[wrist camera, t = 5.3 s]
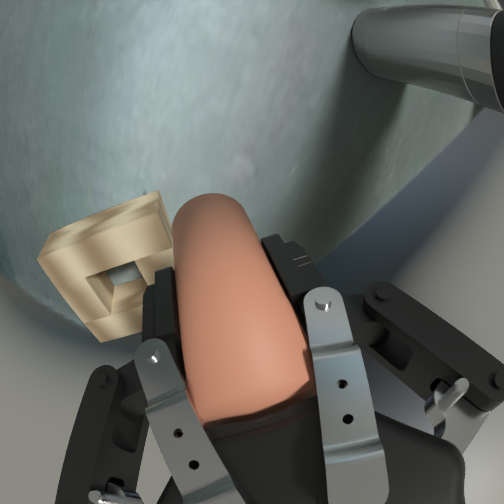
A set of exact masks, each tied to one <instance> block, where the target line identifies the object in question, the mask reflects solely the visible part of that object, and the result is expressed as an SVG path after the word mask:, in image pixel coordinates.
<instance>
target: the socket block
mask: <svg viewBox="0 0 504 504" xmlns="http://www.w3.org/2000/svg"><path fill="white" fill-rule="evenodd" d="M37 260H38V262H39V263H40V265H41V266H42V268H43V269H44V271H45V272H46V274H47V275H48V277H49V278H50V280H51V281H52V282H53V284H54V285H55V287H56V288H57V289H58V291H59V292H60V293H61V295H62V296H63V297H64V299H65V300H66V301H67V303H68V304H69V305H70V306H71V308H72V309H73V310H74V311H75V313H76V314H77V315H78V316H79V318H80V319H81V320H82V321H83V323H84V324H85V325H86V326H87V327H88V328H89V330H90V331H91V332H92V333H93V334H94V335H95V337H96V338H97V339H98V340H99V341H100V342H105V341H109V340H113V339H117V338H121V337H124V336H128V335H132V334H136V333H139V332H142V315H143V313H142V307H143V294H144V292H145V290H146V288H147V286H149V285H152V284H155V271H157V270H160V269H164V268H167V267H170V266H172V268H173V269H174V256H173V237H172V225H171V222H170V219H169V217H168V214H167V212H166V209H165V206H164V204H163V201H162V198H161V196H160V193H159V190H158V191H155V192H152V193H150V194H147V195H144V196H141V197H138V198H136V199H133V200H130V201H127V202H125V203H122V204H119V205H117V206H114V207H112V208H109V209H107V210H104V211H101V212H99V213H96V214H94V215H92V216H89V217H87V218H84V219H82V220H80V221H77V222H75V223H73V224H70V225H68V226H66V227H63V228H61V229H59V230H57V231H54V232H52V233H50V235H49V237H48V239H47V241H46V243H45V245H44V246H43V248H42V250H41V252H40V254H39V256H38V258H37ZM131 261H135V263H136V265H137V267H138V268H139V270H140V272H141V274H142V276H143V277H142V278H139V279H136V280H133V281H130V282H127V283H123V284H120V285H117V286H114V285H113V283H112V282H111V280H110V278H109V277H108V275H107V273H106V272H105V270H108V269H111V268H114V267H117V266H119V265H122V264H125V263H128V262H131Z"/></svg>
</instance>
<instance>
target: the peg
mask: <svg viewBox="0 0 504 504" xmlns="http://www.w3.org/2000/svg"><path fill="white" fill-rule="evenodd" d="M172 237H173V256H174V271H175V284H176V296H177V307H178V317H179V327H180V335H181V344H182V352H183V359H184V367H185V374H186V380H187V385H188V388H189V391H190V394H191V397H192V399H193V402H194V404H195V407H196V409H197V412H198V414H199V416H200V417H201V418H202V419H203V421H204V424H205V426H206V428H210V427H215V426H219V425H223V424H227V423H231V422H259V421H265V420H267V419H269V418H271V417H272V416H274V415H276V414H277V413H279V412H281V411H282V410H284V409H285V408H287V407H289V406H290V405H292V404H294V403H297V402H300V401H303V400H305V399H308V398H311V397H313V396H316V389H315V377H314V371H313V364H312V358H311V352H310V347H309V341H308V337H307V335H306V333H305V331H304V329H303V327H302V325H301V323H300V321H299V319H298V317H297V315H296V313H295V311H294V309H293V306H292V304H291V302H290V300H289V298H288V296H287V294H286V292H285V290H284V288H283V286H282V284H281V282H280V280H279V278H278V276H277V274H276V272H275V270H274V268H273V266H272V264H271V262H270V260H269V258H268V256H267V254H266V252H265V250H264V248H263V246H262V244H261V242H260V240H259V238H258V236H257V234H256V232H255V230H254V228H253V226H252V224H251V222H250V220H249V218H248V216H247V214H246V212H245V210H244V208H243V207H242V206H241V205H240V204H239V203H238V202H237V201H236V200H235V199H233V198H231V197H229V196H226V195H223V194H216V193H210V194H204V195H200V196H197V197H195V198H193V199H191V200H189V201H188V202H186V203H185V204H184V205H183V206H182V207H181V208H180V209H179V211H178V212H177V214H176V216H175V218H174V221H173V226H172Z"/></svg>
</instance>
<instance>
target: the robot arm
mask: <svg viewBox="0 0 504 504" xmlns="http://www.w3.org/2000/svg"><path fill="white" fill-rule="evenodd" d="M352 42H353V46H354V50H355V52H356V55H357V57H358V59H359V60H360V62H361V63H362V65H363V66H364V67H365V68H366V69H367V70H368V71H369V72H371V73H372V74H373V75H375V76H377V77H380V78H384V79H389V80H394V81H399V82H403V83H407V84H412V85H416V86H420V87H424V88H428V89H432V90H435V91H439V92H442V93H446V94H449V95H452V96H455V97H458V98H461V99H464V100H467V101H470V102H473V103H476V104H478V105H481V106H484V107H487V108H489V109H492V110H495V111H497V112H499V113H501V114H504V10H501V9H494V8H487V7H478V6H465V5H442V4H427V5H403V6H390V7H381V8H373V9H368V10H366V11H364V12H362V13H361V14H360V15H359V16H358V17H357V19H356V20H355V23H354V25H353V31H352ZM261 243H262V246H263V248H264V250H265V252H266V254H267V256H268V258H269V260H270V262H271V264H272V266H273V268H274V270H275V272H276V274H277V276H278V278H279V280H280V282H281V284H282V286H283V288H284V290H285V292H286V294H287V296H288V298H289V300H290V302H291V304H292V306H293V309H294V311H295V313H296V315H297V317H298V319H299V321H300V323H301V325H302V327H303V329H304V331H305V333H306V335H307V337H308V341H309V347H310V352H311V358H312V364H313V371H314V377H315V389H316V396H313V397H311V398H308V399H305V400H303V401H300V402H297V403H294V404H292V405H290V406H289V407H287V408H285V409H284V410H282V411H281V412H279V413H277V414H276V415H274V416H272V417H271V418H269V419H267V420H265V421H259V422H231V423H227V424H223V425H219V426H215V427H210V428H206V426H205V424H204V421H203V419H202V418H201V417H200V416H199V414H198V412H197V409H196V407H195V404H194V402H193V399H192V397H191V394H190V391H189V388H188V385H187V380H186V374H185V367H184V359H183V352H182V344H181V335H180V327H179V317H178V307H177V296H176V284H175V271H174V269H173V268H172V266H170V267H167V268H164V269H160V270H157V271H155V284H152V285H149V286H147V288H146V290H145V292H144V294H143V307H142V313H143V315H142V344H140V345H139V346H138V348H137V350H136V351H135V354H134V360H132V361H131V362H129V363H128V364H126V365H124V366H122V367H121V368H119V369H117V370H116V369H115V368H114V367H112V366H110V365H103V366H100V367H98V368H97V369H95V370H94V371H93V373H92V374H91V376H90V378H89V381H88V384H87V386H86V389H85V392H84V395H83V398H82V401H81V404H80V407H79V410H78V413H77V417H76V420H75V423H74V426H73V430H72V433H71V436H70V440H69V444H68V447H67V451H66V455H65V459H64V463H63V467H62V472H61V476H60V480H59V485H58V490H57V495H56V501H55V504H144V503H143V501H142V499H141V497H140V496H139V494H138V493H137V492H136V486H137V481H138V475H139V470H140V465H141V460H142V455H143V451H144V446H145V441H146V437H147V432H148V428H149V424H150V426H151V429H152V431H153V434H154V436H155V439H156V441H157V444H158V446H159V448H160V451H161V453H162V455H163V457H164V460H165V462H166V464H167V466H168V468H169V470H170V472H171V475H172V476H171V478H170V479H169V481H168V483H167V485H166V487H165V489H164V491H163V492H162V494H161V496H160V498H159V500H158V502H157V504H465V498H464V479H465V462H464V458H463V456H462V454H463V452H464V451H465V450H466V448H467V447H468V445H469V444H470V442H471V441H472V439H473V438H474V437H475V435H476V433H477V432H478V430H479V429H480V427H481V426H482V424H483V422H484V420H485V419H486V418H487V416H488V414H489V413H490V412H491V411H492V410H493V409H495V408H496V407H497V406H498V405H500V404H501V403H502V402H503V401H504V364H502V363H501V362H500V361H499V360H497V359H496V358H495V357H494V356H492V355H491V354H490V353H488V352H487V351H486V350H484V349H483V348H482V347H480V346H479V345H478V344H476V343H475V342H474V341H472V340H471V339H470V338H468V337H467V336H466V335H464V334H463V333H462V332H460V331H459V330H457V329H456V328H455V327H453V326H452V325H450V324H449V323H448V322H446V321H445V320H443V319H442V318H441V317H439V316H438V315H436V314H435V313H434V312H432V311H431V310H429V309H428V308H427V307H425V306H424V305H422V304H420V303H419V302H418V301H416V300H415V299H413V298H412V297H411V296H409V295H408V294H406V293H405V292H403V291H402V290H400V289H399V288H397V287H396V286H394V285H392V284H390V283H388V282H375V283H372V284H371V285H369V286H368V287H367V288H366V290H365V293H363V294H353V295H344V294H340V293H339V292H338V291H336V290H335V289H332V288H330V287H328V285H327V284H326V283H325V281H324V280H323V278H322V276H321V275H320V273H319V272H318V270H317V269H316V267H315V266H314V264H313V263H312V262H311V260H310V258H309V257H308V256H307V254H306V252H305V251H304V249H303V248H302V247H301V246H300V245H298V244H296V243H295V242H293V241H292V242H289V243H285V244H284V243H283V241H282V239H281V238H280V236H279V235H278V234H274V235H271V236H268V237H265V238H261ZM359 347H361V348H363V349H364V350H365V351H366V352H367V353H369V354H370V355H371V356H372V357H373V358H375V359H376V360H377V361H378V362H379V363H381V364H382V365H383V366H384V367H385V368H387V369H388V370H389V371H390V372H391V373H393V374H394V375H395V376H396V377H397V378H399V379H400V380H401V381H402V382H403V383H405V384H406V385H407V386H408V387H410V388H411V389H412V390H413V391H414V392H415V393H417V394H418V395H419V396H420V397H421V398H423V399H424V400H425V405H424V411H425V414H426V416H427V418H428V419H429V420H430V422H431V423H432V425H433V427H434V435H431V434H428V433H426V432H423V431H421V430H418V429H416V428H413V427H410V426H408V425H406V424H403V423H401V422H399V421H396V420H394V419H391V418H389V417H387V416H385V415H382V414H380V413H378V412H376V411H374V409H373V404H372V399H371V394H370V390H369V385H368V381H367V376H366V372H365V368H364V363H363V360H362V355H361V351H360V348H359Z"/></svg>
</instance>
